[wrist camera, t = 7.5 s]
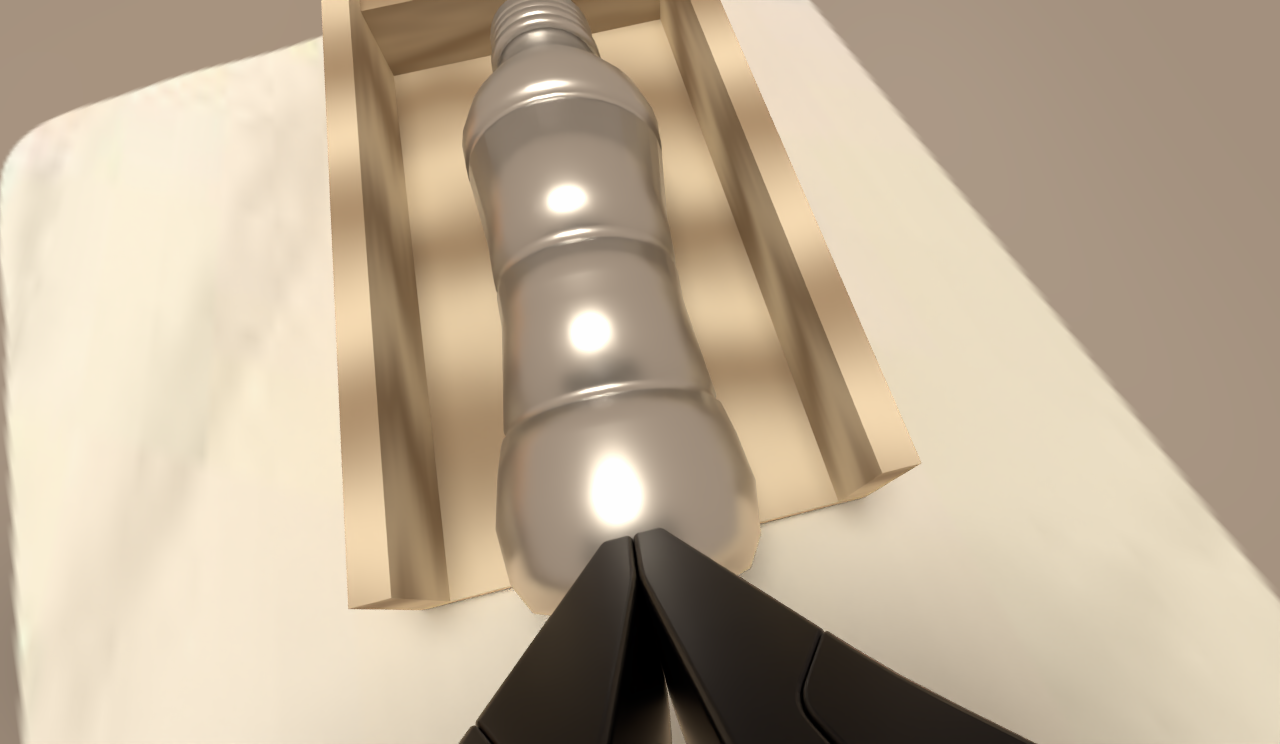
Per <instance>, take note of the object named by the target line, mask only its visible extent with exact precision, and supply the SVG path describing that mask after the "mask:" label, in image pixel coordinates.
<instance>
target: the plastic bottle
mask: <svg viewBox="0 0 1280 744" xmlns="http://www.w3.org/2000/svg"><path fill="white" fill-rule="evenodd" d="M490 41H491V48H492V54H491V64H492V71H493V73H492V74H491V75H490V76H489V78H488V79H487V80H486V81H485V82H484V83H483V84H482V85H481V87H480V88H479V90H478V91H477V93H476V95H475V96H474V98H473V101H472V104H471V107H470V110H469V113H468V116H467V119H466V122H465V126H464V129H463V136H462V148H463V153H464V159H465V165H466V169H467V174H468V178H469V181H470V184H471V188H472V192H473V195H474V199H475V202H476V206H477V209H478V213H479V216H480V220H481V223H482V227H483V230H484V234H485V237H486V241H487V244H488V249H489V255H490V261H491V267H492V273H493V279H494V284H495V288H496V292H497V302H498V308H499V314H500V320H501V326H502V370H503V430H504V434H505V438H504V439H503V441H502V445H501V450H500V458H499V466H498V474H497V498H496V527H495V530H496V533H497V537H498V541H499V545H500V548H501V552H502V556H503V560H504V563H505V567H506V571H507V575H508V578H509V582H510V585H511V587H512V588H513V589H514V590H515V592H516V593H517V594H518V595H519V597H520V598H521V599H522V600H523V602H524V603H525V604H526V605H527V607H528V608H529V609H530V610H531V611H532V613H533V614H540V615H550V616H551V614H552V613H553V612H554V610H555V609H556V607H557V606H558V605H559V603H560V602H561V600H562V599H563V598H564V596H565V595H566V593H567V592H568V590H569V589H570V588H571V586H572V585H573V583H574V582H575V581H576V579H577V578H578V576H579V575H580V573H581V572H582V571H583V569H584V568H585V566H586V565H587V564H588V562H589V561H590V559H591V558H592V557H593V555H594V554H595V552H596V551H597V549H598V548H599V547H600V545H601V544H602V543H603V542H605V541H608V540H612V539H616V538H620V537H624V536H630V537H631V538H632V539H633V538H634V535H635V534H637V533H640V532H643V531H647V530H651V529H655V528H663V529H665V530H667V531H668V532H670V533H671V534H673V535H674V536H676V537H678V538H679V539H681V540H682V541H684V542H686V543H687V544H689V545H690V546H692V547H693V548H695V549H697V550H698V551H700V552H701V553H703V554H705V555H706V556H708V557H709V558H711V559H712V560H714V561H716V562H717V563H719V564H720V565H722V566H724V567H725V568H727V569H728V570H730V571H731V572H733V573H735V574H736V575H739V574H741V573H743V572H745V571H746V570H748V569H750V568H751V566H752V562H753V559H754V556H755V552H756V549H757V546H758V543H759V539H760V536H761V529H760V519H759V509H758V499H757V489H756V479H755V477H754V474H753V472H752V469H751V467H750V464H749V462H748V460H747V457H746V455H745V452H744V450H743V447H742V445H741V442H740V440H739V437H738V435H737V432H736V430H735V428H734V426H733V424H732V422H731V421H730V419H729V417H728V415H727V413H726V411H725V409H724V407H723V405H722V404H721V402H720V401H719V400H717V399H716V392H715V389H714V386H713V383H712V380H711V377H710V375H709V372H708V369H707V366H706V363H705V360H704V357H703V355H702V352H701V349H700V346H699V343H698V340H697V337H696V334H695V332H694V329H693V326H692V323H691V320H690V317H689V314H688V312H687V309H686V306H685V303H684V300H683V296H682V290H681V285H680V280H679V275H678V270H677V268H676V266H675V265H676V264H675V254H674V249H673V243H672V238H671V233H670V228H669V223H668V218H667V208H666V196H665V184H664V172H663V160H662V146H661V139H660V134H659V128H658V122H657V119H656V117H655V114H654V111H653V109H652V107H651V106H650V104H649V103H648V101H647V100H646V99H645V97H644V96H643V94H642V93H641V92H640V90H639V89H638V88H637V86H636V85H635V83H634V82H633V81H632V79H630V78H629V77H628V76H627V75H626V74H625V73H624V72H623V71H622V70H620V69H619V68H617V67H616V66H614V65H612V64H610V63H609V62H607V61H605V60H603V59H601V57H600V53H599V49H598V47H597V45H596V42H595V40H594V39H593V37H592V33H591V29H590V26H589V24H588V21H587V19H586V18H585V16H584V14H583V13H582V11H581V10H580V8H579V7H578V6H577V5H576V4H574V3H573V2H572V1H571V0H507V1H505V2H504V3H503V4H502V5H501V6H500V7H499V9H498V10H497V12H496V14H495V15H494V18H493V21H492V24H491V32H490ZM633 541H634V540H633Z"/></svg>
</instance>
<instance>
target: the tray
mask: <svg viewBox="0 0 1280 744" xmlns="http://www.w3.org/2000/svg"><path fill="white" fill-rule="evenodd" d="M505 1H507V0H321V4H322V26H323V50H324V72H325V95H326V117H327V140H328V162H329V184H330V207H331V229H332V252H333V274H334V297H335V319H336V342H337V364H338V386H339V409H340V431H341V454H342V476H343V499H344V521H345V544H346V566H347V588H348V609H385V610H426V609H430V608H434V607H438V606H441V605H445V604H449V603H453V602H457V601H461V600H465V599H469V598H473V597H477V596H481V595H484V594H488V593H492V592H496V591H500V590H504V589H508V588H512V587H511V585H510V582H509V578H508V575H507V571H506V567H505V563H504V560H503V556H502V552H501V548H500V545H499V541H498V537H497V533H496V530H495V527H496V498H497V474H498V466H499V458H500V450H501V445H502V441H503V439H504V438H505V434H504V430H503V370H502V326H501V320H500V314H499V308H498V302H497V292H496V288H495V284H494V279H493V273H492V267H491V261H490V255H489V249H488V244H487V241H486V237H485V234H484V230H483V227H482V223H481V220H480V216H479V213H478V209H477V206H476V202H475V199H474V195H473V192H472V188H471V184H470V181H469V178H468V174H467V169H466V165H465V159H464V153H463V148H462V136H463V129H464V126H465V122H466V119H467V116H468V113H469V110H470V107H471V104H472V101H473V98H474V96H475V95H476V93H477V91H478V90H479V88H480V87H481V85H482V84H483V83H484V82H485V81H486V80H487V79H488V78H489V76H490V75H491V74H492V73H493V71H492V64H491V54H492V48H491V41H490V32H491V24H492V21H493V18H494V15H495V14H496V12H497V10H498V9H499V7H500V6H501V5H502V4H503V3H504V2H505ZM571 1H572V2H573V3H574V4H576V5H577V6H578V7H579V8H580V10H581V11H582V13H583V14H584V16H585V18H586V19H587V21H588V24H589V26H590V29H591V33H592V37H593V39H594V40H595V42H596V45H597V47H598V49H599V53H600V57H601V59H603V60H605V61H607V62H609V63H610V64H612V65H614V66H616V67H617V68H619V69H620V70H622V71H623V72H624V73H625V74H626V75H627V76H628V77H629V78H630V79H632V81H633V82H634V83H635V85H636V86H637V88H638V89H639V90H640V92H641V93H642V94H643V96H644V97H645V99H646V100H647V101H648V103H649V104H650V106H651V107H652V109H653V111H654V114H655V117H656V119H657V122H658V128H659V134H660V139H661V146H662V160H663V172H664V184H665V196H666V208H667V218H668V223H669V228H670V233H671V238H672V243H673V249H674V254H675V264H676V265H675V266H676V268H677V270H678V275H679V280H680V285H681V290H682V296H683V300H684V303H685V306H686V309H687V312H688V314H689V317H690V320H691V323H692V326H693V329H694V332H695V334H696V337H697V340H698V343H699V346H700V349H701V352H702V355H703V357H704V360H705V363H706V366H707V369H708V372H709V375H710V377H711V380H712V383H713V386H714V389H715V392H716V399H717V400H719V401H720V402H721V404H722V405H723V407H724V409H725V411H726V413H727V415H728V417H729V419H730V421H731V422H732V424H733V426H734V428H735V430H736V432H737V435H738V437H739V440H740V442H741V445H742V447H743V450H744V452H745V455H746V457H747V460H748V462H749V464H750V467H751V469H752V472H753V474H754V477H755V479H756V489H757V499H758V509H759V519H760V524H762V523H766V522H770V521H773V520H777V519H781V518H785V517H789V516H793V515H797V514H801V513H805V512H809V511H813V510H816V509H820V508H824V507H828V506H832V505H836V504H840V503H844V502H848V501H852V500H855V499H859V498H863V497H866V496H868V495H869V494H871V493H873V492H874V491H876V490H878V489H879V488H881V487H883V486H884V485H886V484H888V483H889V482H891V481H893V480H894V479H896V478H898V477H899V476H901V475H903V474H904V473H906V472H908V471H909V470H911V469H913V468H914V467H916V466H918V465H919V464H921V461H920V458H919V456H918V454H917V452H916V449H915V447H914V445H913V442H912V440H911V438H910V435H909V433H908V431H907V429H906V426H905V424H904V422H903V419H902V417H901V415H900V412H899V410H898V408H897V406H896V403H895V401H894V399H893V396H892V394H891V392H890V389H889V387H888V385H887V383H886V380H885V378H884V376H883V373H882V371H881V369H880V366H879V364H878V362H877V360H876V357H875V355H874V353H873V350H872V348H871V346H870V343H869V341H868V339H867V337H866V334H865V332H864V330H863V327H862V325H861V323H860V320H859V318H858V316H857V314H856V311H855V309H854V307H853V304H852V302H851V300H850V297H849V295H848V293H847V291H846V288H845V286H844V284H843V281H842V279H841V277H840V275H839V272H838V270H837V268H836V265H835V263H834V261H833V258H832V256H831V254H830V252H829V249H828V247H827V245H826V242H825V240H824V238H823V235H822V233H821V231H820V229H819V226H818V224H817V222H816V219H815V217H814V215H813V212H812V210H811V208H810V206H809V203H808V201H807V199H806V196H805V194H804V192H803V189H802V187H801V185H800V183H799V180H798V178H797V176H796V173H795V171H794V169H793V166H792V164H791V162H790V160H789V157H788V155H787V153H786V150H785V148H784V146H783V143H782V141H781V139H780V137H779V134H778V132H777V130H776V127H775V125H774V123H773V120H772V118H771V116H770V114H769V111H768V109H767V107H766V104H765V102H764V100H763V98H762V95H761V93H760V91H759V88H758V86H757V84H756V81H755V79H754V77H753V75H752V72H751V70H750V68H749V65H748V63H747V61H746V58H745V56H744V54H743V52H742V49H741V47H740V45H739V42H738V40H737V38H736V35H735V33H734V31H733V29H732V26H731V24H730V22H729V19H728V17H727V15H726V12H725V10H724V8H723V6H722V3H721V1H720V0H571Z"/></svg>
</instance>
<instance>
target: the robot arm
mask: <svg viewBox="0 0 1280 744" xmlns="http://www.w3.org/2000/svg"><path fill="white" fill-rule="evenodd" d="M633 540H634V541H633ZM665 679H666V681H665ZM666 683H667V687H668V691H669V695H670V698H671V701H672V704H673V707H674V710H675V713H676V716H677V719H678V722H679V724H680V727H681V730H682V733H683V736H684V738H685V741H686V744H1036V743H1034V742H1032V741H1030V740H1028V739H1026V738H1024V737H1022V736H1020V735H1018V734H1016V733H1014V732H1012V731H1010V730H1008V729H1006V728H1004V727H1002V726H1000V725H998V724H996V723H994V722H992V721H990V720H988V719H986V718H984V717H982V716H980V715H978V714H976V713H974V712H972V711H969V710H967V709H965V708H963V707H961V706H959V705H957V704H956V703H954V702H952V701H950V700H948V699H946V698H944V697H942V696H940V695H938V694H936V693H934V692H933V691H931V690H929V689H927V688H925V687H923V686H921V685H919V684H917V683H915V682H913V681H911V680H909V679H908V678H906V677H904V676H902V675H900V674H898V673H896V672H895V671H893V670H891V669H890V668H888V667H886V666H885V665H883V664H881V663H879V662H878V661H876V660H874V659H873V658H871V657H869V656H868V655H866V654H864V653H862V652H861V651H859V650H857V649H856V648H854V647H852V646H851V645H849V644H848V643H846V642H844V641H843V640H841V639H840V638H838V637H836V636H835V635H833V634H832V633H830V632H828V631H826V632H824V631H823V629H822V628H820V627H819V626H817V625H815V624H814V623H812V622H811V621H809V620H807V619H806V618H804V617H803V616H801V615H800V614H798V613H796V612H795V611H793V610H792V609H790V608H788V607H787V606H785V605H784V604H782V603H781V602H779V601H777V600H776V599H774V598H773V597H771V596H769V595H768V594H766V593H765V592H763V591H762V590H760V589H758V588H757V587H755V586H754V585H752V584H750V583H749V582H747V581H746V580H744V579H743V578H741V577H739V576H738V575H736V574H735V573H733V572H731V571H730V570H728V569H727V568H725V567H724V566H722V565H720V564H719V563H717V562H716V561H714V560H712V559H711V558H709V557H708V556H706V555H705V554H703V553H701V552H700V551H698V550H697V549H695V548H693V547H692V546H690V545H689V544H687V543H686V542H684V541H682V540H681V539H679V538H678V537H676V536H674V535H673V534H671V533H670V532H668V531H667V530H665V529H663V528H655V529H651V530H647V531H643V532H640V533H637V534H635V535H634V538H633V539H632V538H631V537H630V536H624V537H620V538H616V539H612V540H608V541H605V542H603V543H602V544H601V545H600V547H599V548H598V549H597V551H596V552H595V554H594V555H593V557H592V558H591V559H590V561H589V562H588V564H587V565H586V566H585V568H584V569H583V571H582V572H581V573H580V575H579V576H578V578H577V579H576V581H575V582H574V583H573V585H572V586H571V588H570V589H569V590H568V592H567V593H566V595H565V596H564V598H563V599H562V600H561V602H560V603H559V605H558V606H557V607H556V609H555V610H554V612H553V613H552V614H551V616H550V617H549V619H548V620H547V622H546V623H545V624H544V626H543V627H542V629H541V630H540V631H539V633H538V634H537V636H536V637H535V638H534V640H533V641H532V643H531V644H530V646H529V647H528V648H527V650H526V651H525V653H524V654H523V655H522V657H521V658H520V660H519V661H518V662H517V664H516V665H515V667H514V668H513V670H512V671H511V672H510V674H509V675H508V677H507V678H506V679H505V681H504V682H503V684H502V685H501V686H500V688H499V689H498V691H497V692H496V694H495V695H494V696H493V698H492V699H491V701H490V702H489V703H488V705H487V706H486V708H485V709H484V710H483V712H482V713H481V715H480V716H479V718H478V719H477V720H476V726H471V727H470V728H469V730H468V731H467V732H466V734H465V735H464V737H463V738H462V739H461V741H460V742H459V744H672V734H671V721H670V710H669V700H668V693H667V687H666Z"/></svg>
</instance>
